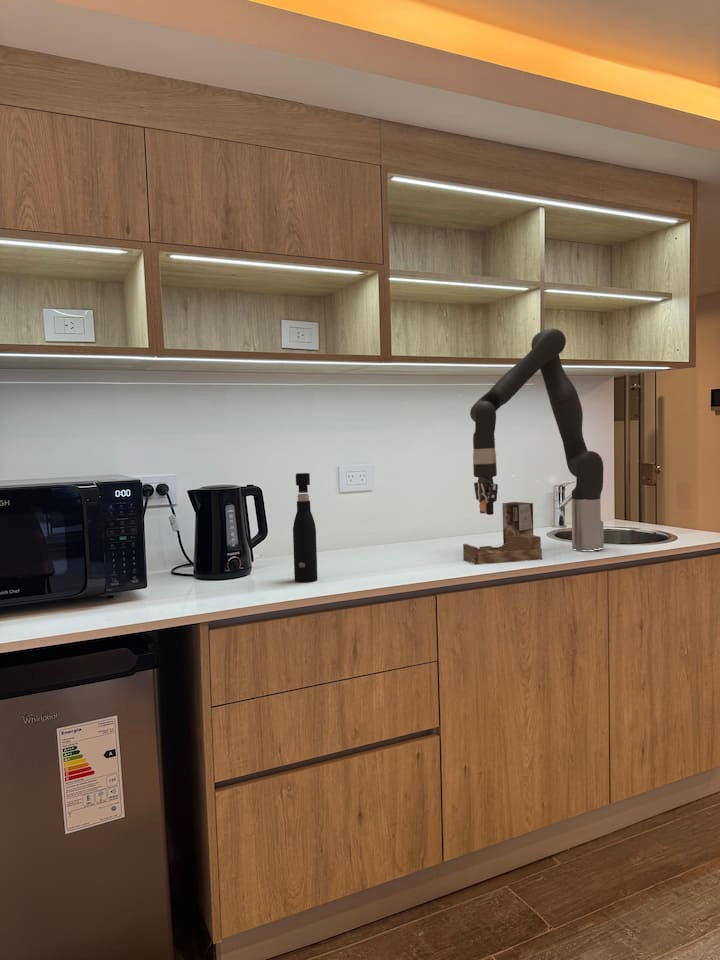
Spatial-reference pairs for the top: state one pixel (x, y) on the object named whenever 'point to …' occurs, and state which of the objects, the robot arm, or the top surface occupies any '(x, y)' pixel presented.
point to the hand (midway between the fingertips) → (486, 513)
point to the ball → (483, 506)
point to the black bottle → (304, 535)
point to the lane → (506, 551)
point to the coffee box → (517, 519)
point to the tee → (486, 547)
